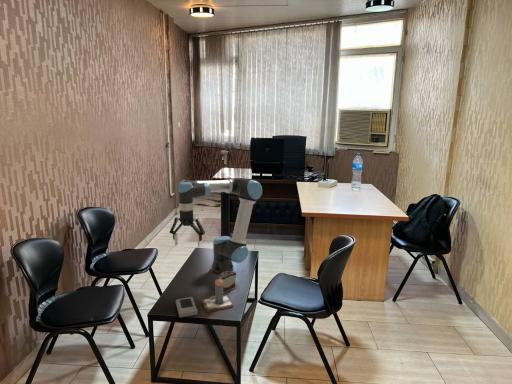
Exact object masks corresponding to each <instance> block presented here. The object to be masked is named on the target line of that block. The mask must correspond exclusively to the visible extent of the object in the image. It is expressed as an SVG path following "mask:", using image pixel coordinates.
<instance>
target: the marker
mask: <svg viewBox="0 0 512 384" xmlns="http://www.w3.org/2000/svg"><path fill="white" fill-rule="evenodd" d="M214 292H215V293H214V294H215V295H214V296H215V303H216V304H222V303H223V296H224V293H223V280H222V279H219V278H217V279H215V280H214Z"/></svg>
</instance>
